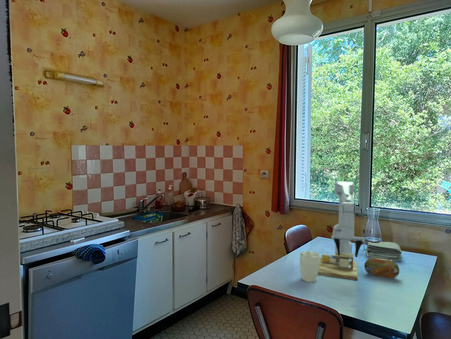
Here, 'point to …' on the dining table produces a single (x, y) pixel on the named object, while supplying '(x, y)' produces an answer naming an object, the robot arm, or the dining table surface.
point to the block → (344, 262)
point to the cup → (309, 265)
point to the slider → (327, 260)
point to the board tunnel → (339, 268)
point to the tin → (381, 268)
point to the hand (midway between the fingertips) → (347, 256)
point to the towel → (384, 251)
